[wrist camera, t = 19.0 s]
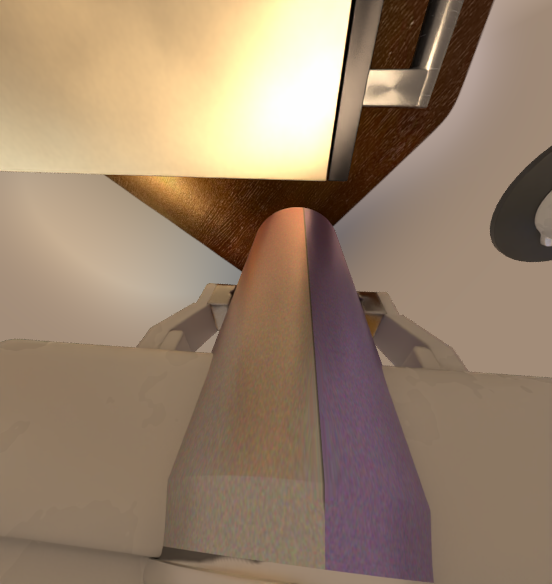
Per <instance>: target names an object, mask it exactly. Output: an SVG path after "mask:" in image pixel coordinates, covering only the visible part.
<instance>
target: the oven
mask: <svg viewBox="0 0 552 584" xmlns="http://www.w3.org/2000/svg"><path fill="white" fill-rule="evenodd" d="M351 4H352V0H0V171H5V172H6V171H7V172H39V173H72V174H73V173H74V174H105V175H139V176H172V177H206V178H239V179H272V180H306V181H326V177H327V170H328V163H329V157H330V150H331V143H332V136H333V129H334V122H335V115H336V108H337V101H338V94H339V87H340V80H341V74H342V67H343V60H344V53H345V46H346V39H347V32H348V25H349V18H350V11H351Z"/></svg>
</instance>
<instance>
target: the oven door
mask: <svg viewBox="0 0 552 584" xmlns="http://www.w3.org/2000/svg"><path fill="white" fill-rule="evenodd" d="M383 2H384V0H352V4H351V11H350V18H349V25H348V32H347V39H346V46H345V53H344V60H343V67H342V74H341V80H340V87H339V94H338V101H337V108H336V115H335V122H334V129H333V136H332V143H331V150H330V157H329V163H328V170H327V179H328V181H347V180H348V176H349V171H350V166H351V161H352V156H353V151H354V146H355V141H356V136H357V131H358V126H359V121H360V116H361V111H362V108H426V107H427V106H428V103H429V100H430V97H431V94H432V91H433V88H434V85H435V82H436V80H437V77H438V74H439V71H440V68H441V65H442V62H443V59H444V57H445V54H446V51H447V48H448V45H449V42H450V39H451V36H452V34H453V31H454V28H455V25H456V22H457V19H458V16H459V13H460V10H461V8H462V5H463V2H464V0H429V2H428V6H427V9H426V13H425V16H424V20H423V23H422V27H421V30H420V34H419V37H418V41H417V44H416V48H415V51H414V55H413V59H412V62H411V66H410V69H370V67H371V62H372V57H373V52H374V47H375V42H376V37H377V32H378V27H379V22H380V17H381V12H382V7H383Z"/></svg>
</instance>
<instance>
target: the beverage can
mask: <svg viewBox="0 0 552 584" xmlns="http://www.w3.org/2000/svg"><path fill="white" fill-rule="evenodd" d="M211 353H213V357H212V361H211V364H210V368H209V371H208V374H207V376H206V379H205V382H204V384H203V387H202V390H201V392H200V395H199V398H198V400H197V403H196V406H195V408H194V411H193V414H192V417H191V419H190V422H189V425H188V427H187V430H186V433H185V435H184V438H183V441H182V443H181V446H180V449H179V451H178V454H177V457H176V459H175V462H174V465H173V467H172V470H171V473H170V476H169V478H168V483H167V500H166V517H165V533H164V542H163V548H162V553H161V556H160V557H159V558H155V557H152V558H148V560H147V563H146V566H145V569H144V574H143V581H144V583H145V584H434V578H433V567H432V544H431V512H430V508H429V505H428V502H427V499H426V496H425V493H424V490H423V488H422V485H421V482H420V479H419V476H418V473H417V470H416V467H415V464H414V462H413V459H412V456H411V453H410V450H409V447H408V444H407V441H406V438H405V436H404V433H403V430H402V427H401V424H400V421H399V418H398V415H397V413H396V410H395V407H394V404H393V401H392V398H391V395H390V393H389V390H388V387H387V384H386V380H385V377H384V373H383V370H382V363H381V360H380V357H379V355H378V352H377V349H376V346H375V343H374V340H373V337H372V335H371V332H370V329H369V326H368V323H367V320H366V317H365V315H364V312H363V309H362V306H361V303H360V300H359V298H358V295H357V292H356V289H355V286H354V283H353V281H352V278H351V275H350V272H349V269H348V266H347V264H346V260H345V258H344V255H343V252H342V249H341V246H340V243H339V241H338V238H337V235H336V232H335V230H334V228H333V226H332V225H331V223H330V222H329V221H328V220H327V219H326V218H325V217H324V216H323V215H321V214H320V213H318V212H316V211H314V210H311V209H307V208H301V207H293V208H287V209H283V210H280V211H278V212H276V213H274V214H272V215H271V216H270V217H268V218H267V219H266V220H265V221H264V222H263V224H262V225H261V226H260V228H259V230H258V232H257V235H256V237H255V240H254V242H253V245H252V248H251V250H250V253H249V255H248V258H247V261H246V263H245V266H244V268H243V271H242V274H241V276H240V279H239V282H238V284H237V287H236V289H235V292H234V295H233V297H232V300H231V302H230V305H229V308H228V310H227V313H226V315H225V318H224V321H223V323H222V326H221V329H220V331H219V334H218V336H217V339H216V342H215V345H214V347H213V350H212V352H211Z"/></svg>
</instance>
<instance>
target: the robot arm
mask: <svg viewBox="0 0 552 584" xmlns="http://www.w3.org/2000/svg"><path fill="white" fill-rule="evenodd" d="M535 226H536V228H537V230H538V231H539V232H540V234H541V237H540V243H541V244H542V245H544V246H552V190H551V192H550V193H549V194H548V195H547V196H546V197H545V198H544V200H543V201H542V203H541V204H540V206H539V208H538V210H537V212H536V215H535ZM236 287H237V285H228V284H213V283H209V284H207V285H206V287H205V289H204V290H203V292H202V294H201V296H200V297H199V299H198V301H197V302H196V303H193V304H191V305H189V306H188V307H186V308H184V309H182V310H180V311H179V312H177V313H175V314H174V315H172V316H170V317H169V318H167V319H165V320H163V321H161V322H160V323H158V324H156V325H155V326H153V327H151V328H150V329H149V330H148V332H147V333H146V335H145V336H144V337H143V339H142V340H141V341H140V343H139V344H138V345H137V347H136V348H135V347H120V346H106V345H93V344H79V343H65V342H51V341H39V340H38V341H37V340H27V339H10V340H5V341H2V342H0V584H145V583H144V581H143V574H144V569H145V566H146V563H147V560H148V558H152V557H155V558H159V557H160V556H161V553H162V548H163V542H164V533H165V517H166V500H167V483H168V478H169V476H170V473H171V470H172V467H173V465H174V462H175V459H176V457H177V454H178V451H179V449H180V446H181V443H182V441H183V438H184V435H185V433H186V430H187V427H188V425H189V422H190V419H191V417H192V414H193V411H194V408H195V406H196V403H197V400H198V398H199V395H200V392H201V390H202V387H203V384H204V382H205V379H206V376H207V374H208V371H209V368H210V364H211V361H212V357H213V353H204V352H195V351H196V350H197V349H198V348H199V347H201V346H202V345H203V344H204V343H205V342H206V341H207V340H208V339H209V338H210V337H211V336H212V335H214V334H215V333H216V332H217V331H220V329H221V326H222V323H223V321H224V318H225V315H226V313H227V310H228V308H229V305H230V302H231V300H232V297H233V295H234V292H235V289H236ZM356 292H357V295H358V298H359V300H360V303H361V306H362V309H363V312H364V315H365V317H366V320H367V323H368V326H369V329H370V332H371V335H372V337H373V340H374V343H375V345H376V346H377V347H378V348H379V349H380V351H381V352H383V354H384V355H385V356H386V357H387V358H388V359H389V360H390V361H391V362H392V363H393V364H394V365H395V366H383V365H382V370H383V373H384V377H385V380H386V384H387V387H388V390H389V393H390V395H391V398H392V401H393V404H394V407H395V410H396V413H397V415H398V418H399V421H400V424H401V427H402V430H403V433H404V436H405V438H406V441H407V444H408V447H409V450H410V453H411V456H412V459H413V462H414V464H415V467H416V470H417V473H418V476H419V479H420V482H421V485H422V488H423V490H424V493H425V496H426V499H427V502H428V505H429V508H430V512H431V544H432V567H433V578H434V584H552V378H548V377H534V376H521V375H508V374H492V373H480V372H469V371H468V370H467V368H466V367H465V365H464V364H463V362H462V361H461V360H460V358H459V357H458V355H457V354H456V352H455V351H454V350H453V348H452V347H450V346H449V345H447V344H446V343H444V342H443V341H441V340H439V339H438V338H437V337H435V336H434V335H432V334H430V333H429V332H428V331H426V330H425V329H423V328H422V327H420V326H419V325H417V324H416V323H414V322H413V321H411V320H409V319H408V318H407V317H405V316H404V315H399V313H398V311H397V309H396V307H395V305H394V304H393V302H392V300H391V298H390V296H389V294H388V293H386V292H360V291H356Z"/></svg>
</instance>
